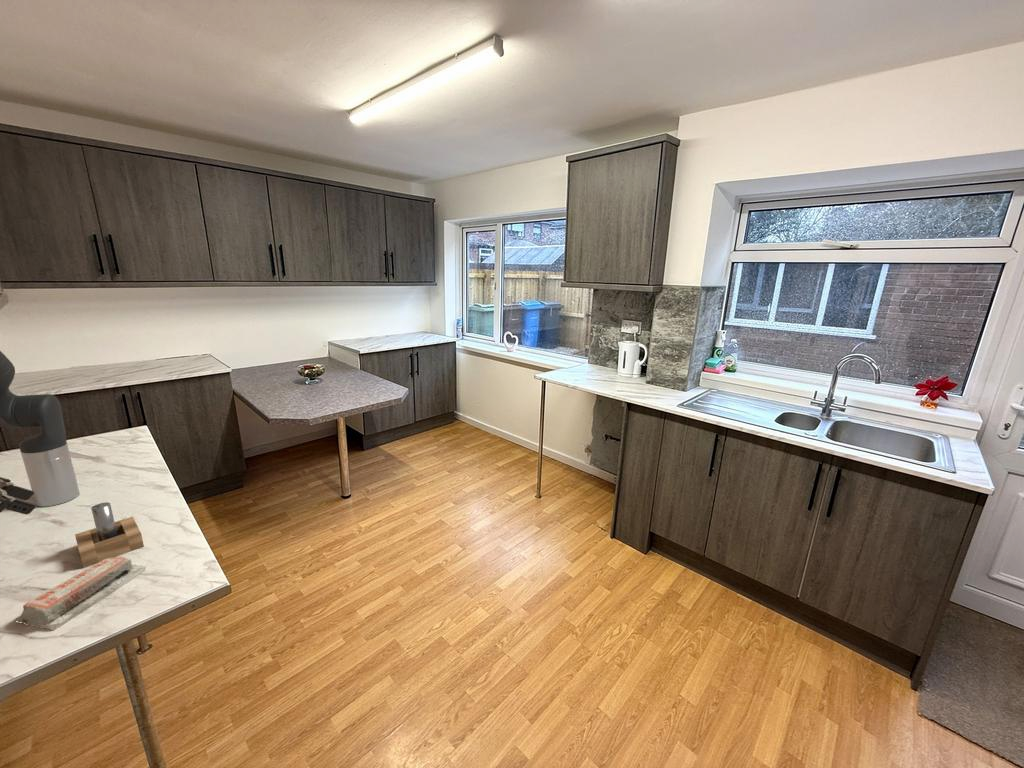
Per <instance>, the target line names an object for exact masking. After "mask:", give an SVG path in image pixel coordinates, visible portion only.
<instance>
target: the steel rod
mask: <svg viewBox="0 0 1024 768" xmlns="http://www.w3.org/2000/svg"><path fill="white" fill-rule="evenodd" d="M91 513H92V517H93V521H94V525H95V528H96V530H97V534H98V538H99V542H101V541H104V540H107V539H110V538H113V537H116V536H118V534H117V530H116V526H115V522H116V521H115V517H114V514H113V510H112V505H111V503H110V502H100V503H97V504H95V505H93V506H91Z"/></svg>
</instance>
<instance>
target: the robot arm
mask: <svg viewBox="0 0 1024 768" xmlns="http://www.w3.org/2000/svg"><path fill="white" fill-rule="evenodd" d="M15 374H16V368H15V366H14V363H13V362H11V360H10V359H9V358H8V357H7V356H6V355H5V354H4V352H2V351H1V350H0V420H1V422H2V423H3V424H5V425H7V426H8V427H10V428H17V429H19V428H20V429H21V428H33V427H41V432H40V433H38V434H34V435H32V436H29V437H26V438H24V439H22V440H21V441H19V444H18V447H19V450H20V451H19V452H20V454H21V457H22V461H23V463H24V468H25V471H26V475H27V479H28V482H29V485H30V489H28V488H24V487H21V486H17V485H15V483H13V482H12V480H11V479H9V478H5V477H1V476H0V513H2V512H3V511H6V510H8V511H12V512H14V513H15V512H16V513H20V514H23V515H30V514H31V512H33V511H35V509H36V507H51V506H57V505H61V504H64V503H66V502H69V501H72V500H74V499H76V498H77V497H79V496H80V489H79V486H78V485H79V484H78V481H77V478H76V473H75V469H74V466H73V461H72V457H71V454H70V450H69V446H68V443H67V442H68V441H67V435H66V434H67V433H66V426H65V421H64V417H63V411H62V410H63V409H62V405H61V403H60V400H59V398H58V397H57V396H55V394H50V393H49V394H48V393H46V394H41V393H40V394H30V395H29V394H28V395H17V394H15V393H13V392H12V391H10V389H9V388H10V386H11V384H12V383H13V381H14V378H15ZM32 497H33V499H34V503H32V502H28V500H30V498H32Z"/></svg>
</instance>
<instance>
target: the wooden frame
mask: <svg viewBox="0 0 1024 768" xmlns="http://www.w3.org/2000/svg"><path fill="white" fill-rule="evenodd" d="M114 522H115V526H116V530H117V534H118V536H116V537H113V538H110V539H107V540H104V541H101V542H99V538H98V534H97V530H96V527H94V528H91V529H88V530H85V531H82V532H79V533H76V534H74V537H75V541H76V544H77V548H78V549H77V550H78V553H79V557H80V560H81V564H82V568H83V569H85V568H88V567H92V566H93V565H95V564H97V563H99V562H101V561H102V560H104V559H106V558H111V557H119V556H123V555H124V554H127V553H130V552H132V551H136V550H139V549H141V548H144V547H145V545H144V540H143V536H142V532H141V530H140V528H139V525H138V524H137V522H136V521H135V519H134V516H131V517H127V518H124V519H121V520H117V521H114Z"/></svg>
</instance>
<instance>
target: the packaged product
mask: <svg viewBox="0 0 1024 768" xmlns="http://www.w3.org/2000/svg"><path fill="white" fill-rule="evenodd" d="M146 568H147V566H146V565H142V564H141V565H140V564H139V565H137V564H132V559H131V558H129V557H125V556H123V555H119V556H116V557H111V558H106V559H104V560H102V561H101V562H99V563H96V564H93V565H91V566H89V568H88V567H87V568H86V569H85V570H83V571H81V572H80V573H79V572H78V574H76V575H74V576H73V577H71V578H69V579H67V580H65V581H63V582H61V583H60V584H58V585H56V586H54V587H52V588H51V589H49V590H48V591H46V592H44V593H42V594H40V595H39V596H37V597H35V598H33V599H31V600H29V601H28V602H26V603H25V604H24V605H23V606H22V608H23V610H22V612H21V614H20V616H17V617H16V618H15V619H14V620H15V621H18V622H22V623H25V624H28V625H27V626H30V625H33V626H32V627H34V626H38V627H37V628H40V627H42V628H41V629H44V628H46V629H45V630H50V629H51V631H56V630H57V628H58V629H60V628H61V627H62V626H64V625H65V624H67V623H68V622H70V621H71V620H73V619H74V618H76V617H78V616H79V615H81V614H82V613H83V612H85V611H87V610H88V609H90V608H91V607H93V606H94V605H97V604H98V603H99V602H101V601H103V600H104V599H106V598H107V597H109V596H110V595H112V594H114V593H115V592H116V591H118V590H119V589H120V588H121V589H122V587H124V586H125V585H127V584H128V583H130V582H131V581H132V580H134V579H135V578H137V577H138V576H140V575H141V574H143V573H144V572H146ZM15 621H14V622H15ZM25 624H24V625H25Z"/></svg>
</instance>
